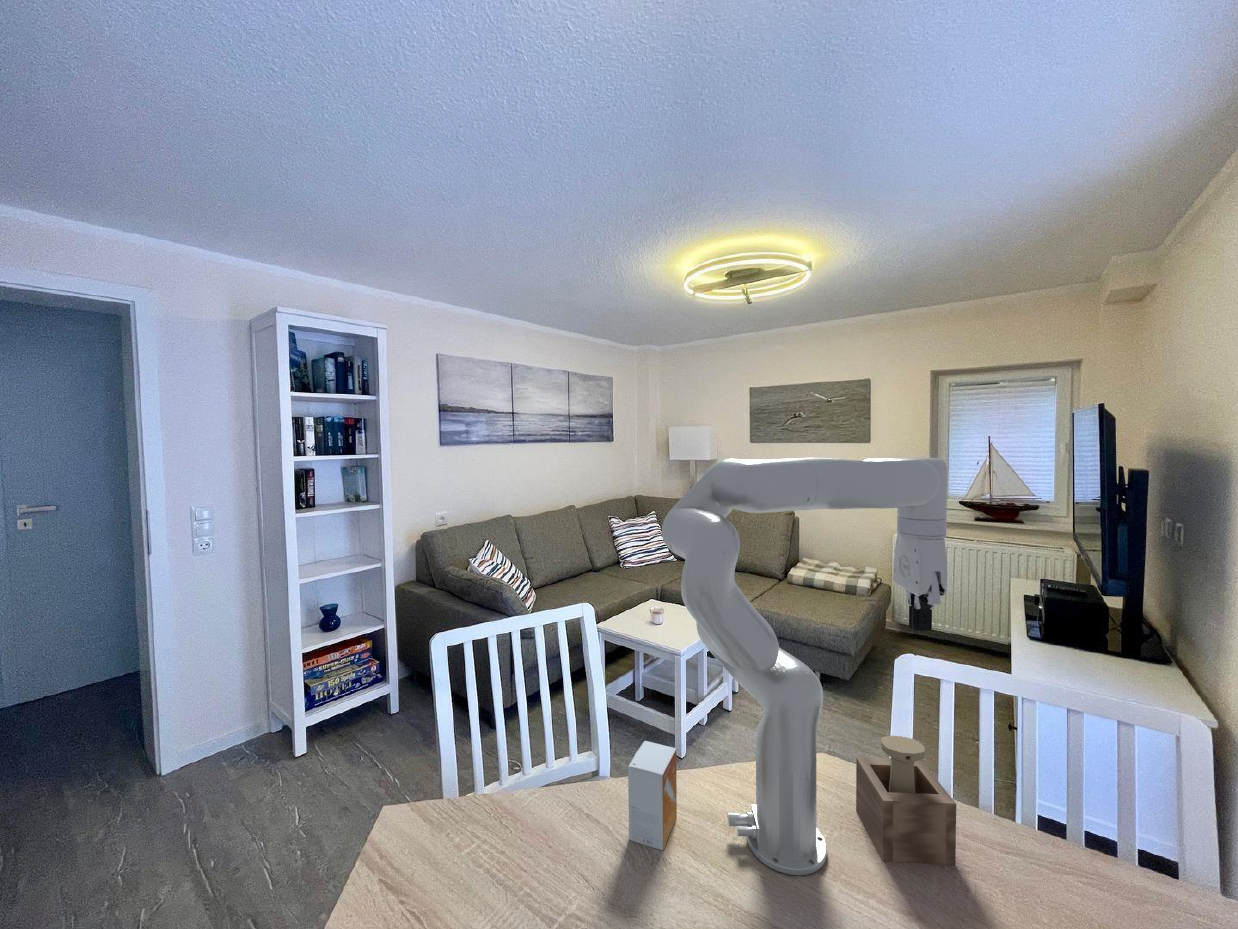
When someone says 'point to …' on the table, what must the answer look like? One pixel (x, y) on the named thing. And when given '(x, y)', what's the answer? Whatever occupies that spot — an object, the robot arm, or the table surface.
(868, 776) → the sleeve
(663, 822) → the small box
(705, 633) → the robot arm
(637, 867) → the table surface
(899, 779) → the handle
